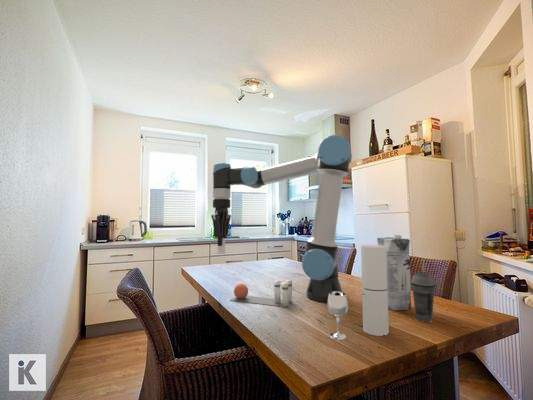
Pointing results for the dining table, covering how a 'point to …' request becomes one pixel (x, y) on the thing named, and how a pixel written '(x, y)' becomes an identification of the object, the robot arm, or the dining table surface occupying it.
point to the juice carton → (397, 272)
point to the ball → (241, 291)
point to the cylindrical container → (374, 289)
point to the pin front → (277, 291)
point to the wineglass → (337, 310)
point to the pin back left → (285, 294)
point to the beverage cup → (423, 295)
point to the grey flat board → (259, 301)
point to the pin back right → (289, 290)
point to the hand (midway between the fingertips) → (221, 253)
